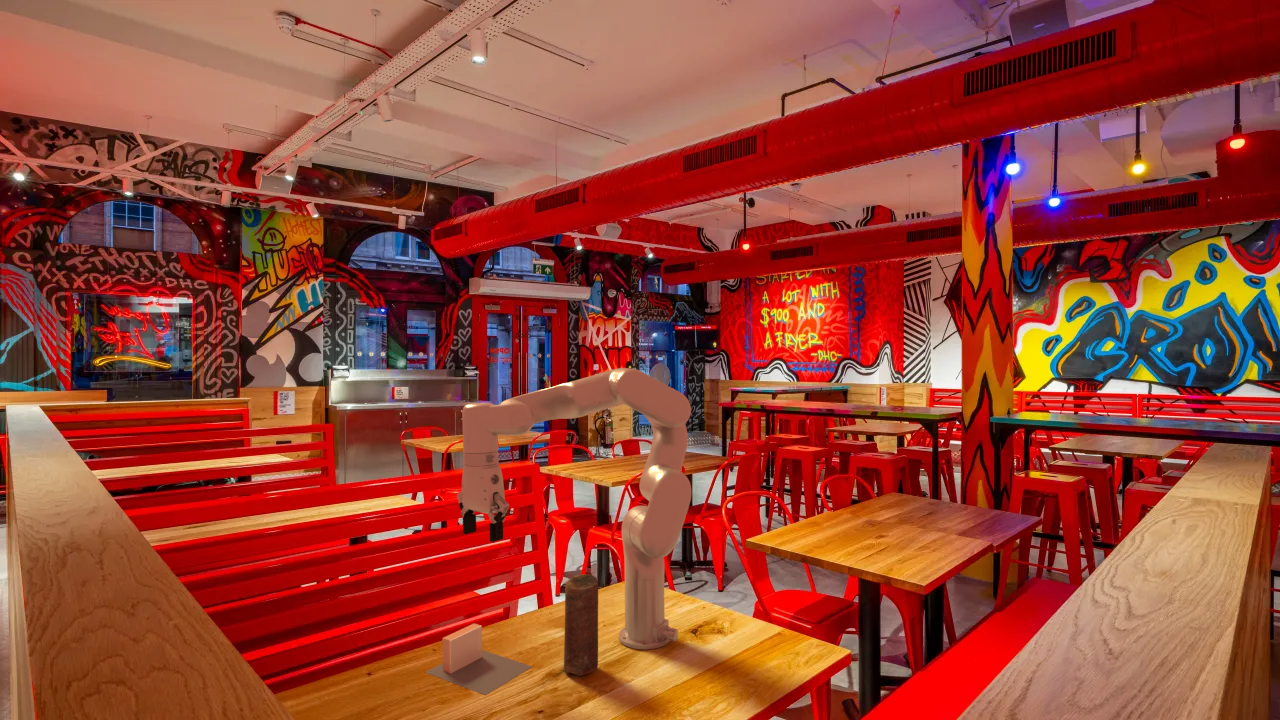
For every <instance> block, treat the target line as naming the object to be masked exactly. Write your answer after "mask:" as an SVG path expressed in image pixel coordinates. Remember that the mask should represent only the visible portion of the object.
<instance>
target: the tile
mask: <svg viewBox="0 0 1280 720" xmlns="http://www.w3.org/2000/svg"><path fill="white" fill-rule="evenodd" d="M441 641H442V663H443V671H445V672H448V673H453V672H455V671H457V670H459V669H461V668H462V667H464V666H466V665H468V664H470V663H472V662H474V661H476V660H477V659H479V658H481V657H482V650H483V626H482V625H480V624H478V623H471V624H470V625H468V626H466V627H464V628H460V629H459V630H457V631H455V632H453V633H450V634H448V635H446V636H444V637H442V640H441Z"/></svg>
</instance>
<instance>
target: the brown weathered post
mask: <svg viewBox="0 0 1280 720" xmlns="http://www.w3.org/2000/svg"><path fill="white" fill-rule="evenodd" d="M564 584H565V587H564V591H565V592H564V594H565V595H564V641H563V642H564V643H563V644H564V646H563V647H564V648H563V669H564V671H565V672H566V673H571V674H573V675H574V676H578V677H581V676H585V675H587V674H589V673H591V672H593V671H596V670H597V669H598V666H599V579H598V578H597V576H595V575H593V574H584V573H583V574H582V573H581V574H577V575H574V576H572V577H570V578H569V579H567V580H566V581H565V582H564Z"/></svg>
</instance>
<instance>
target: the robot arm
mask: <svg viewBox="0 0 1280 720" xmlns="http://www.w3.org/2000/svg"><path fill="white" fill-rule="evenodd" d="M623 405H624V406H627V407H629V408H631V409H632V410H635V411H636V412H638V413H640V414H642V415H643V416H645V417H644V418H646V419H647V420H648V422H649V423H650V426H651V429H652V442H651V446H650V450H649V452H648V457H647V459H646V462H645V465H644V468H643V471H642V473H641V476H640V479H639V480H640V481H639V491H640V494H641V495H642V497H643V498H645V499H646V500H647V501H648V505H637V506H634V507H632V508H630V509H629V510H628V511H627V512H626V513H625V515H624V517H623V520H622V523H621V538H622V539H621V540H622V547H623V555H624V557H623V558H624V627H623V628H622V629H620V631H619V632H618V640H619V642H620V643H621V644H622V645H624V646H625V647H628V648H631V649H635V650H654V649H659V648H662V647H664V646H666V645H667V644H669V643H670V642H671V641H672V642H677V641H678V637H679V629H678V628H674V627H670V626H669V625H670V624H669V619H666V618H665V617H666V616H665V613H666V612H665V558H664V557H666V556H668V555H670V554H671V553H672V551H673V550H674V548H675V547H676V546H677V543H678V541H679V538H680V534H681V531H682V529H683V526H684V524H685V520H686V515H687V514H688V511H689V507H690V503H691V500H692V486H691V482H690V480H689V478H688V476H686V475H685V473H683V472H682V468H683V464H684V461H685V457H686V454H687V453H686V452H687V449H688V444H689V443H688V439H689V438H688V437H689V436H688V430H687V425H686V423H687V422H688V421H689V419H690V417H691V413H692V408H691V407H692V406H691V403H690V401H689V399H688V398H687V397H686V396H685V395H684V394H683V393H681V392H680V391H678V390H676V389H674V388H673V387H671V386H669V385H667V384H665V383H663V382H661V381H660V380H658V379H656V378H654V377H652V376H651V375H649V374H647V373H645V372H643V371H641V370H639V369H637V368H629V367H627V368H626V367H618V368H614V369H610V370H607V371H604V372H601V373H597V374H593V375H590V376H587V377H583V378H579V379H576V380H572V381H568V382H564V383H561V384H557V385H555V386H552V387H546V388H544V389H539V390H535V391H532V392H529V393H525V394H521V395H518V396H514V397H511V398H508V399H505V400H503V401H502V402H500V403H499V404H494V403H489V402H475V403H473V402H472V403H469V404H465V405H464V406H463V408H462V411H461V413H462V415H461V416H462V417H461V418H462V447H463V448H462V450H463V451H462V452H463V453H462V454H463V470H462V478H461V491H460V492H459V493H457V494H456V497H457V501H458V507H459V509H460V515H461V516H462V533H463V535H468V534H473V533H475V532H477V514H476V513H475V512H478V513H481V514H487V516H488V518H489V520H490V522H491V523H490V522H489V530H488V531H489V541H490V542H491V543H494V542H497V541H498V542H499V541H501V540H503V539H504V522H505V520H506V517H507V516H508V510H509V507H510V503H509V502H507V501H506V498H505V487H504V478H503V472H502V468H501V466H500V463H499V436H512V437H518V436H523V435H525V434H527V433H528V432H530V430H531V429H532V428H533V426H534V425H535V424H538V423H542V422H548V421H551V420H559V419H561V420H562V419H564V420H565V419H566V420H567V419H568V420H570V419H577V418H582V417H586V416H588V415H592V414H595V413H598V412H602V411H605V410H608V409H611V408H615V407H619V406H623Z"/></svg>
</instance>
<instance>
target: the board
mask: <svg viewBox="0 0 1280 720" xmlns="http://www.w3.org/2000/svg"><path fill="white" fill-rule="evenodd" d="M532 668H533V666H532V665H528V664H527V663H523V662H520V661H516V660H514V659H512V658H511V659H510V658H508V657H505V656H502V655H499V654H496V653H492V652H490V651H486V650H484V649H482V657H481V658H479V659H477V660H476V661H474V662H472V663H470V664H468V665H466V666H464V667H462V668H461V669H459V670H457V671H455V672H453V673H448V672H445V671H443V662H442V663H441V664H438V665H436V666H435V667H432V668H430V669H428V670H426V671H425V672H424V673H425V674H427V675H430V676H433V677H435V678H438V679H441V680H444V681H446V682H449V683H452V684H453V685H454V684H455V685H457V686H460V687H462V688H465V689H468V690H471V691H473V692H476V693H478V694H481V695H484V696H487V695H489V694H490V693H492V692H493V691H495V690H497V689H499V688H500V687H502V686H503V685H505V684H507V683H509V682H510V681H512V680H513V679H515V678H517V677H518V676H520V675H522V674H524V673H525V672H526V671H528V670H530V669H532Z"/></svg>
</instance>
